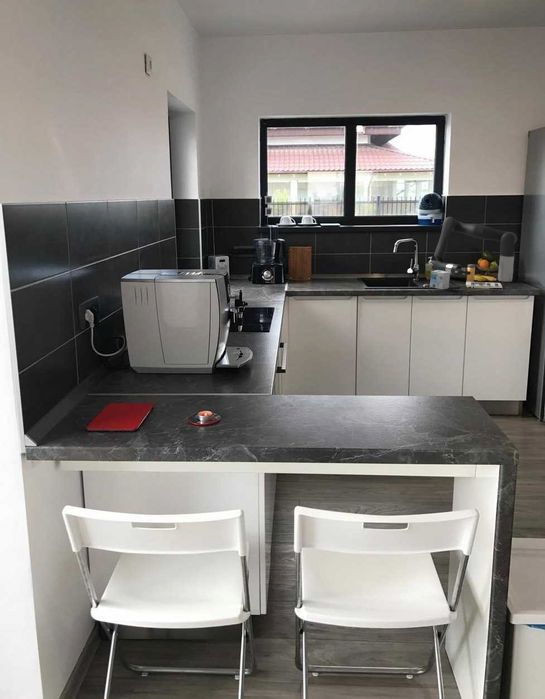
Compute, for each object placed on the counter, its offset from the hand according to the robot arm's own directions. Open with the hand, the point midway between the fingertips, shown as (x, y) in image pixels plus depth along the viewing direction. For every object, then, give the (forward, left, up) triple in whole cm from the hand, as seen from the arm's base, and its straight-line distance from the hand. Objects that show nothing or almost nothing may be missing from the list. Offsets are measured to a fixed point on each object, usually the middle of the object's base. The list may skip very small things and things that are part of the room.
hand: (473, 272), depth 461 cm
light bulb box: (+23, +25, -7) cm, 34 cm away
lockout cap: (+2, -1, -7) cm, 7 cm away
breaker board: (-6, +12, -7) cm, 15 cm away
